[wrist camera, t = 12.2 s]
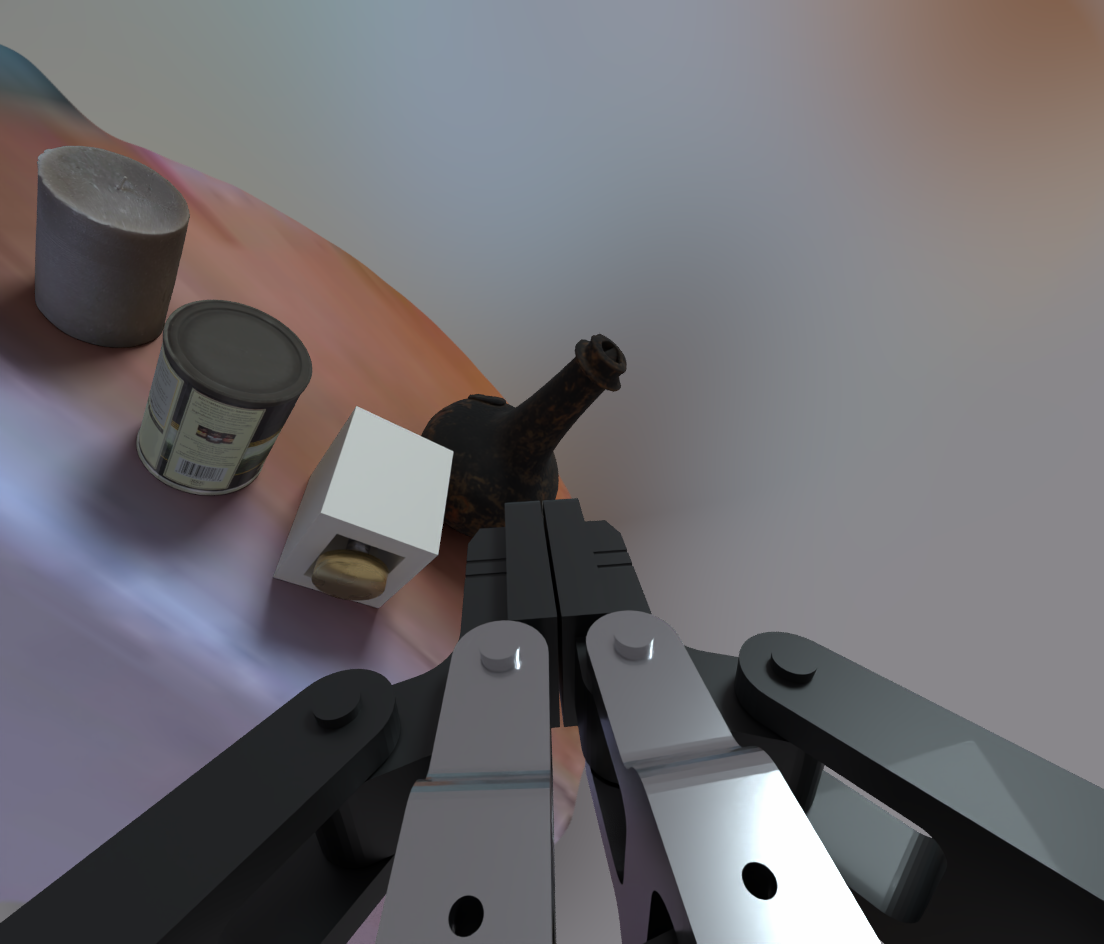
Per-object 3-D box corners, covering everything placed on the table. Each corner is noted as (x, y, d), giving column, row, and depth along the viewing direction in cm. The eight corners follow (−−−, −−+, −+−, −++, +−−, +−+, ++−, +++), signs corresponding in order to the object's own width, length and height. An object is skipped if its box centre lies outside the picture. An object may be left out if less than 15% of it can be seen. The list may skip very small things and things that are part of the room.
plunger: (368, 606, 49) (397, 579, 45) (301, 587, 46) (326, 557, 42) (391, 505, 56) (417, 476, 53) (335, 484, 54) (359, 450, 50)
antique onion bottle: (493, 439, 78) (628, 300, 61) (539, 552, 71) (704, 430, 54) (378, 432, 65) (509, 254, 48) (420, 569, 58) (589, 417, 42)
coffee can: (244, 402, 56) (288, 306, 47) (278, 487, 53) (331, 400, 45) (120, 405, 48) (146, 289, 39) (152, 505, 45) (187, 403, 37)
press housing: (378, 608, 53) (438, 555, 46) (272, 577, 48) (320, 512, 41) (399, 510, 61) (453, 451, 53) (310, 475, 56) (356, 406, 49)
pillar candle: (171, 295, 57) (200, 173, 48) (156, 362, 52) (185, 239, 43) (48, 256, 51) (55, 108, 42) (17, 327, 46) (18, 176, 37)
